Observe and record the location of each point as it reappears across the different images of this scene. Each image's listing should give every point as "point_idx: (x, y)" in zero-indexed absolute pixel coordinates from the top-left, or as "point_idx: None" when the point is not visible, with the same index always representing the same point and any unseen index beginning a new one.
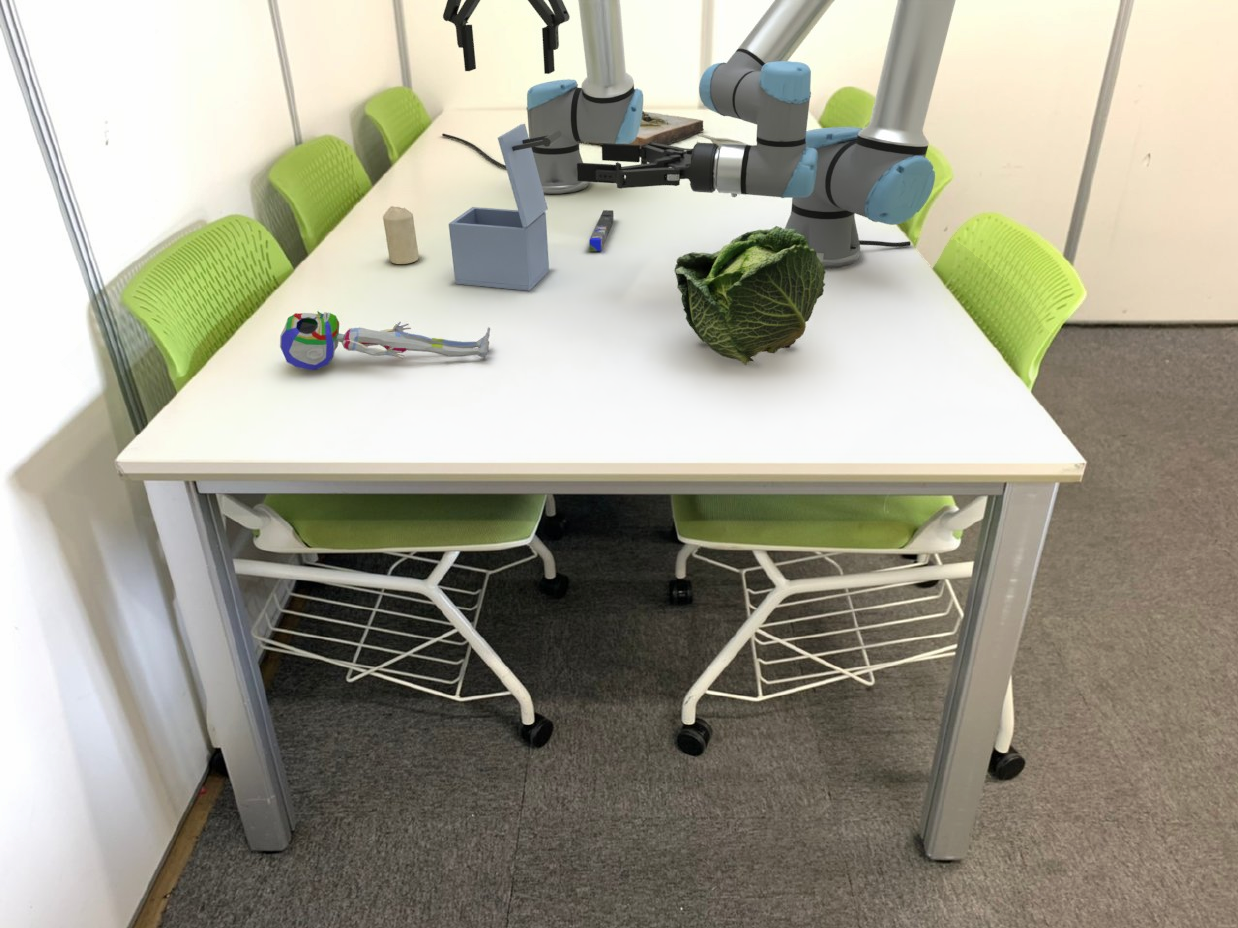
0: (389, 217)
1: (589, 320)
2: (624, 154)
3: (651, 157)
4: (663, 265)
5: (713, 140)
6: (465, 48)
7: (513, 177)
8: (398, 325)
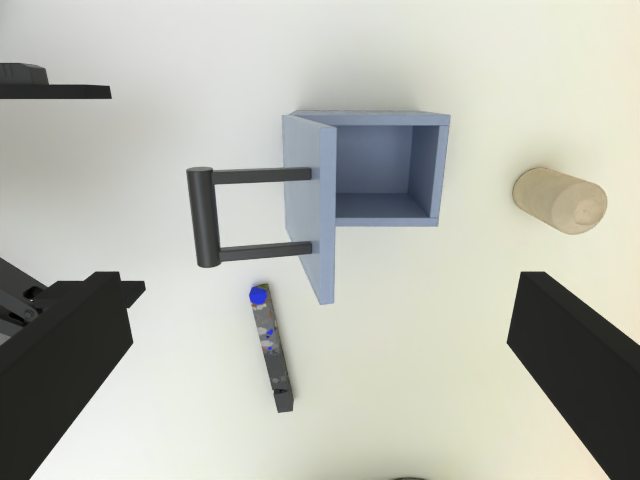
0: (591, 186)
1: (159, 12)
2: None
3: (8, 276)
4: (146, 257)
5: None
6: (603, 331)
7: (299, 120)
8: None
